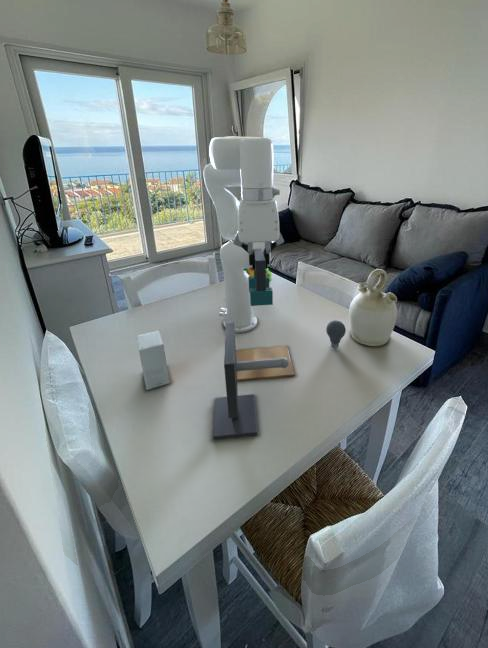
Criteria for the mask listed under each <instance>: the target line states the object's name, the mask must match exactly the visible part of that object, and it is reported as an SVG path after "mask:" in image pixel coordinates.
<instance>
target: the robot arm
mask: <svg viewBox="0 0 488 648" xmlns="http://www.w3.org/2000/svg"><path fill="white" fill-rule="evenodd" d="M208 151H209V153H208V154H209V159H210V163H208V164H206V165H205V166H204V168H203V181H204V186H205V188H206V191H207V193H208V195H209V197H210V199H211V201H212V203H213V206H214V208H215V214H216V218H217V219H216V220H217V224H218V230H219V233H220V236H221V237H222V239H224V240H226V241H229V242H226V243H224V244H222V246H220V249H219V259H220V264H221V267H222V272H223V280H224V281H223V282H224V294H225V307H226V308H224V307H221V308H220V309H219V313H218V315H219V316H220V317H224V319H223V322H222V323H223V327H224V328H225V329H226V323H230V322H234V328H235V333H245V332H248V331H251V330H254V329H255V328H256V327H257V325H258V317H256V315H254V310H253V308H254V306H251V304H250V293H249V279H248V277H249V275H248V274H247V273H246V272H245V271H246V270H247V269H248V268H252V269H255V253H254V250H253V249H263V254H264V257H265V261H266V269H267V268H268V265H270V263H271V260H272V251H273V250H274V249H275V248H276V247H277V246H280V245H282V244H284V243H285V239H284V238H283V234H282V233H281V231H280V218H279V209H278V208H279V207H278V203H277V199H276V198H275V197H276V196H279V195H280V193H281V190H280V188H276V187H274V144H273V141H272V139H270V138H268V137H262V136H261V137H260V136H237V135H229V136H221V137H220V136H219V137H213V138H212V139H211V140H210V143H209V150H208ZM229 187H230V188H231V187H241V189H240V190H241V192H240V193H241V199H239V200H238V198H237V196H235V195H234V194H233V193H232V192H231V191H229V190H228V189H227V188H229Z"/></svg>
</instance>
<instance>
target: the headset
mask: <svg viewBox="0 0 488 648" xmlns="http://www.w3.org/2000/svg"><path fill="white" fill-rule="evenodd" d="M253 250H254V253H255V269H254V276H249V277H248V279H249V293H250V304H251V306H253V307H258V306H259V307H260V306H272V305H274V300H273V299H274V298H273V295H274V293H273V288H272V287H270V283H269V276H266V261H265V257H264V254H263V249H253Z"/></svg>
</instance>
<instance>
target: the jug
mask: <svg viewBox="0 0 488 648" xmlns="http://www.w3.org/2000/svg"><path fill="white" fill-rule="evenodd" d="M377 277H379V280H378V282H377V283H376V284H375V282H376V280H377ZM387 277H388V275H387V272H386V271H385V270H384V269H382V268H376V269H374V270H372V271H371V272H370V274H369V275H368V277H367V280H366V285H365V284H364V283H363V282H359V283H358V289H357V290H358V291H359V293H358V294H356V295H355V296H354V298H353V299H352V300H351V302H350V304H349V308H348V318H349V320H348V321H349V329H350V333H351V336H352V337H351V338H352V339H353V340H354V341H356V342H357V343H359V344H361V345H364V346H367V347H368V346H369V347H380V346H383V345H386V344H387V343H388V341H389V339H390V337H391V335H392V333H393V331H394V328H395V326H396V323H397V320H398V314H399V313H398V307H397V305H396V303H397V301H398V298H397V296H396V294H394V293H393V292H391V291H388V292H386V293H385V292H383V291H382V289H383V288H384V287H385V285H386V283H387ZM374 284H375V285H374Z"/></svg>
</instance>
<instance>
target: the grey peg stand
mask: <svg viewBox="0 0 488 648" xmlns="http://www.w3.org/2000/svg"><path fill="white" fill-rule="evenodd" d="M224 335H225V336H224V358H223V359H224V360H223V365H224V366H223V367H224V380H225V390H226V396H222V397H221V396H220V397H215V399H214V401H215V403H214V416H213V429H212V440H213V441H214V440H224V439H233V438H241V437H243V438H244V437H252V436H258V429H257V428H258V425H257V414H256V405H255V403H256V402H255V401H256V400H255V394H254V393H253V394H252V393H251V394H241V395H239V394H238V390H239V389H238V381H237V371H245V370H257V369H269V368H280V367H281V368H286V367H287V366H288V364H289V361H288V359H287V358H285V357H282V358H280V359H268V360H256V361H244V362H237V359H236V350H237V346H236V332H235V328H234V322H230V323H226V328H225V334H224Z"/></svg>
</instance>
